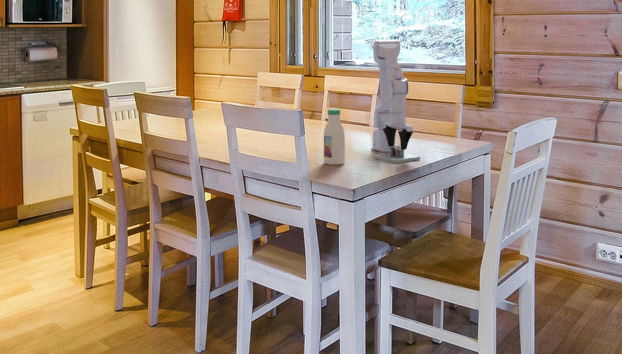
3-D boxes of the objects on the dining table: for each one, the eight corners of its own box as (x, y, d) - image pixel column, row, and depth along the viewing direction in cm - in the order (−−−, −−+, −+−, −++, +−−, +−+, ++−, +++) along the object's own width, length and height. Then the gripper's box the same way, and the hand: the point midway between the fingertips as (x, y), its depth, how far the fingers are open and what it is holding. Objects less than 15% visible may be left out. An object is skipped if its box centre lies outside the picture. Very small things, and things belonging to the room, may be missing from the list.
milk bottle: (343, 161, 243) (343, 108, 238) (345, 165, 235) (345, 110, 231) (323, 161, 242) (322, 108, 238) (324, 165, 235) (324, 111, 231)
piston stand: (375, 158, 247) (375, 144, 246) (399, 154, 253) (399, 141, 252) (394, 163, 237) (394, 149, 236) (419, 159, 243) (420, 146, 242)
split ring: (386, 155, 246) (387, 147, 245) (398, 154, 248) (398, 146, 247) (395, 157, 241) (395, 150, 240) (406, 156, 244) (406, 148, 243)
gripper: (377, 110, 245) (377, 146, 248) (401, 115, 233) (401, 152, 236) (392, 109, 249) (391, 144, 252) (417, 113, 237) (416, 149, 240)
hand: (397, 147), depth 244 cm, fingers open, 7 cm apart
